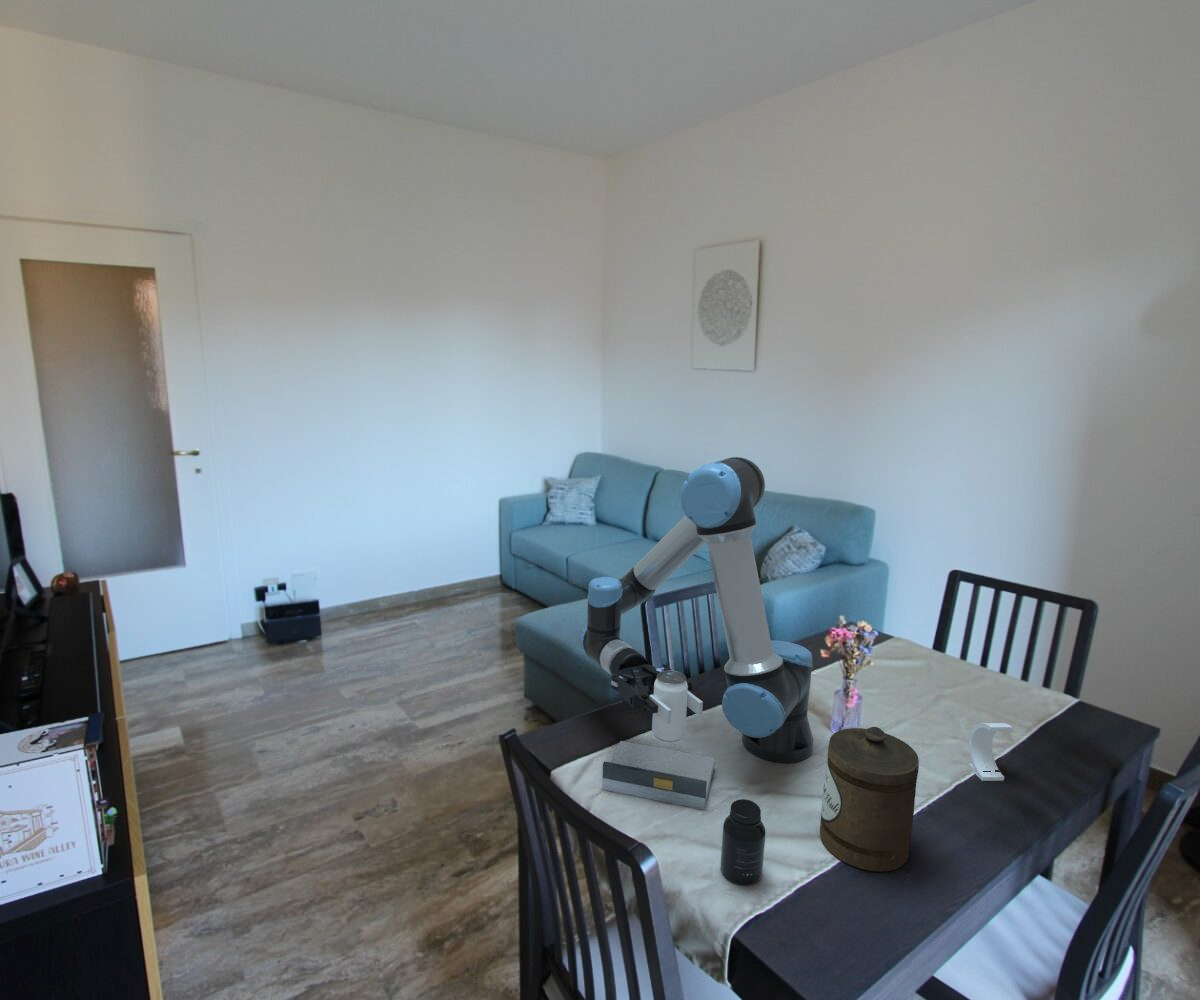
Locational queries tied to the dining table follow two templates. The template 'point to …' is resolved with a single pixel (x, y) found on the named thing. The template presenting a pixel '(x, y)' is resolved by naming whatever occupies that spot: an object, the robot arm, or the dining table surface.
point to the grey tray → (659, 774)
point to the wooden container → (869, 798)
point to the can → (671, 705)
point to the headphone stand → (985, 750)
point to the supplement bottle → (743, 843)
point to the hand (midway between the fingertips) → (685, 712)
